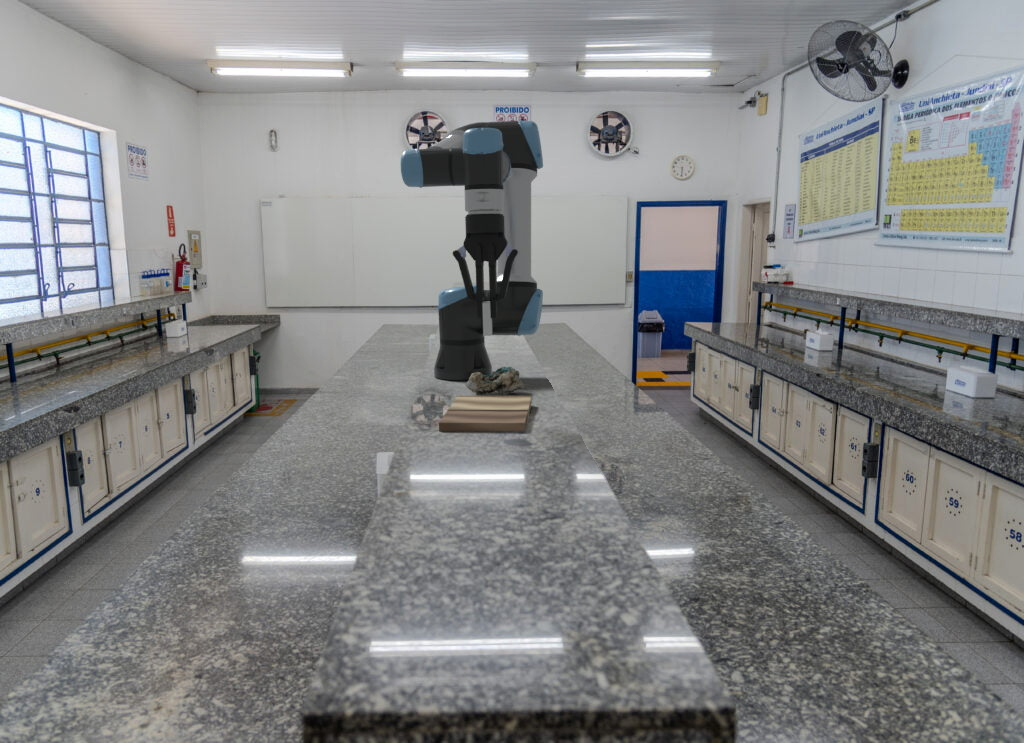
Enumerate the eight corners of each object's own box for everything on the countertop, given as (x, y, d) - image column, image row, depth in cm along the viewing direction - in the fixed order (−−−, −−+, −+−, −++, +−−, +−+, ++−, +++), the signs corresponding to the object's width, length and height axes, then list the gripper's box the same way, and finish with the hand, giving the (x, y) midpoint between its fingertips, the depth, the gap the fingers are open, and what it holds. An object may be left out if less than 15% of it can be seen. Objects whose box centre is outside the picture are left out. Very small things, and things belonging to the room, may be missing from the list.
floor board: (448, 417, 140) (448, 409, 140) (528, 417, 139) (528, 409, 138) (439, 431, 130) (438, 422, 130) (524, 431, 129) (524, 422, 129)
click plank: (457, 402, 150) (456, 395, 150) (531, 402, 149) (531, 395, 148) (448, 416, 141) (448, 408, 140) (528, 416, 139) (528, 409, 139)
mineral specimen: (524, 386, 164) (512, 355, 164) (525, 391, 155) (512, 358, 155) (476, 405, 165) (463, 374, 164) (474, 411, 156) (461, 378, 155)
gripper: (447, 213, 132) (452, 337, 136) (516, 211, 131) (519, 337, 135) (454, 214, 139) (458, 332, 144) (519, 213, 138) (521, 331, 142)
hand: (487, 334), depth 139 cm, fingers closed
